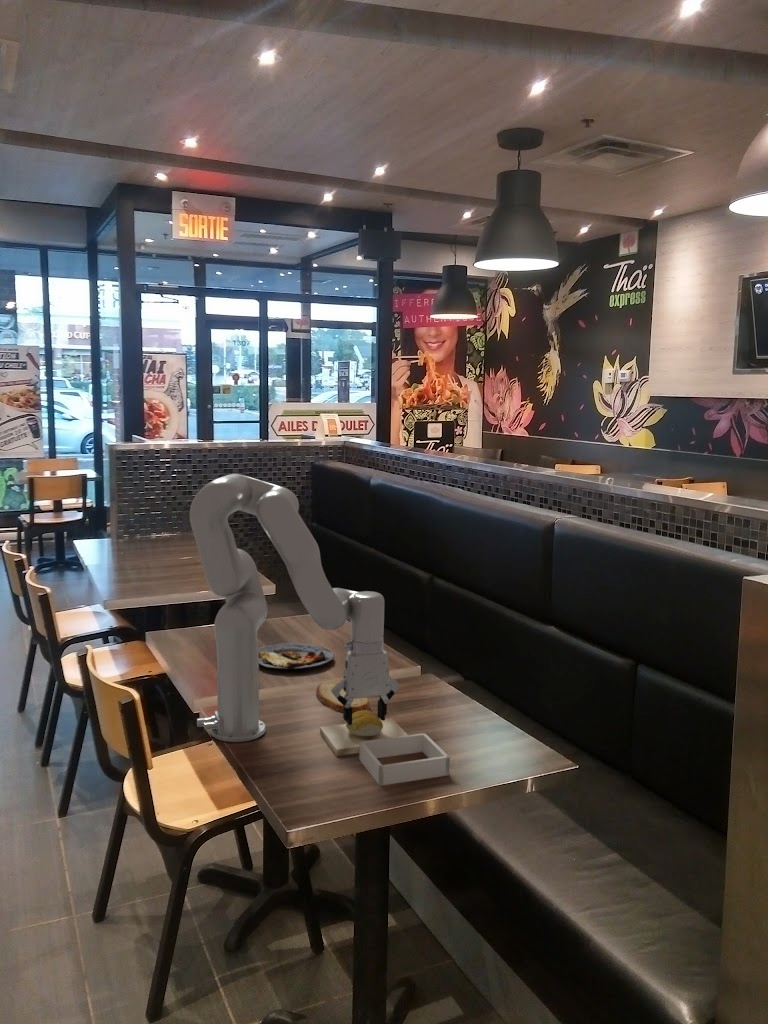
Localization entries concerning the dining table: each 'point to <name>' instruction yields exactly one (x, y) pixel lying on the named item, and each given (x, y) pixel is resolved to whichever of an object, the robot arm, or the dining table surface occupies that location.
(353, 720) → the bread roll
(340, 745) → the birch board
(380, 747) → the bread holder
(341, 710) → the slice of bread
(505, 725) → the dining table surface
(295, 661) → the food plate
